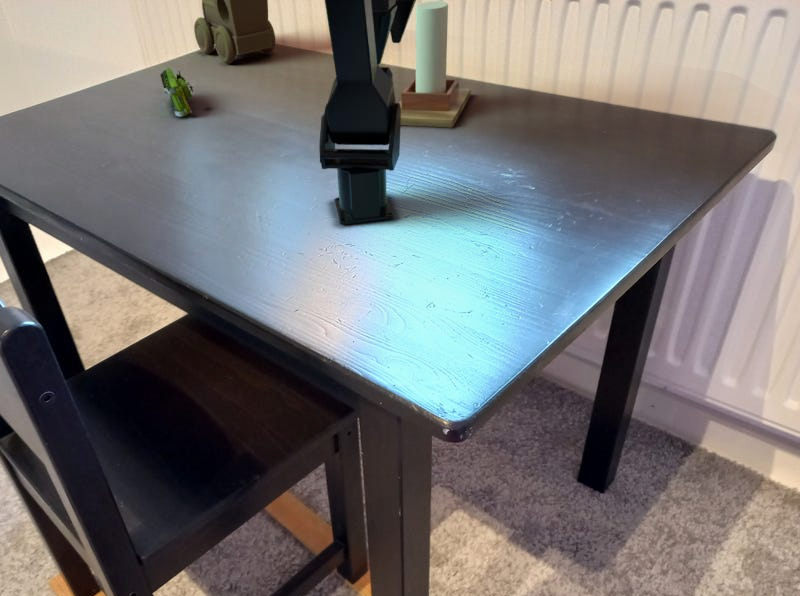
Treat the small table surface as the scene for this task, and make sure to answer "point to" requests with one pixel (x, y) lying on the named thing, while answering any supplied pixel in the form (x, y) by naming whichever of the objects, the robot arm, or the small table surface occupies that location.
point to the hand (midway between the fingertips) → (386, 53)
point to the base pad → (433, 105)
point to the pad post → (431, 46)
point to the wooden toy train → (234, 28)
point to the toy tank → (177, 92)
